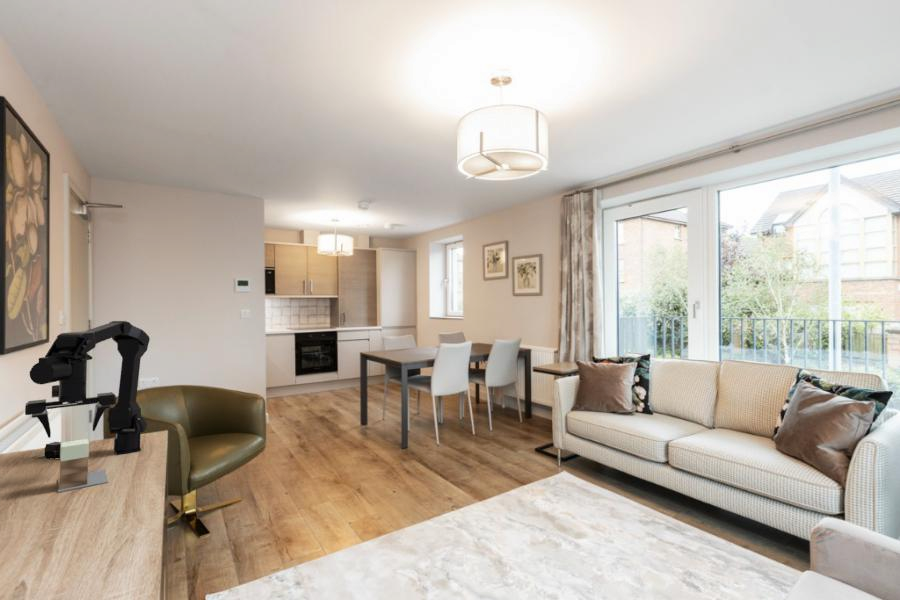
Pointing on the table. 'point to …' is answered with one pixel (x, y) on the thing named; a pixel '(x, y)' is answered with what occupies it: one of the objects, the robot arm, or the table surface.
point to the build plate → (51, 451)
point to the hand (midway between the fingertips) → (72, 433)
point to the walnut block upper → (73, 466)
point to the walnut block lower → (73, 480)
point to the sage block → (74, 449)
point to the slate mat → (90, 480)
